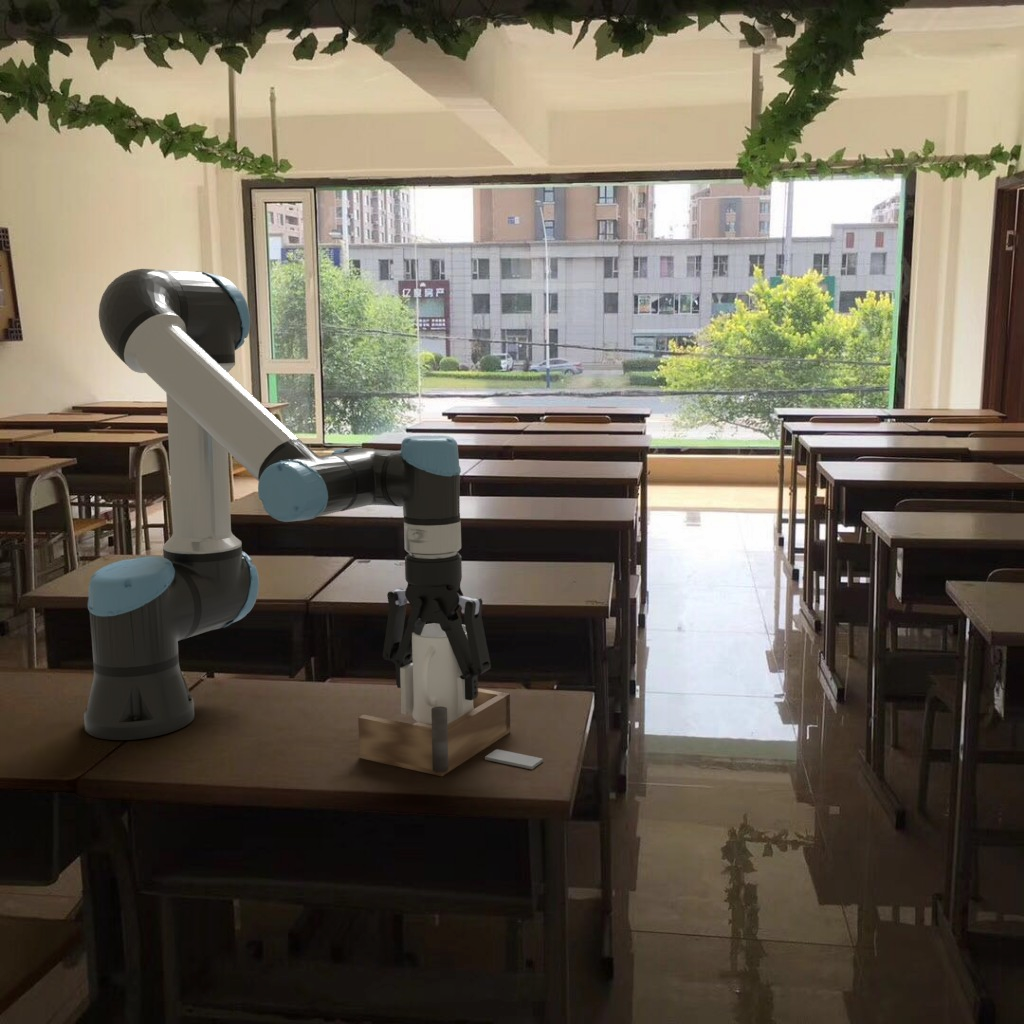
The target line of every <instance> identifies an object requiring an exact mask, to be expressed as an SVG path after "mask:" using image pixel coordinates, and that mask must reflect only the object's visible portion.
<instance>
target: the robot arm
mask: <svg viewBox="0 0 1024 1024" xmlns="http://www.w3.org/2000/svg"><path fill="white" fill-rule="evenodd" d="M98 306H99V307H98V321H99V327H100V331H101V332H102V336H103V338H104V339H105V341H106V344H108V346H109V347H110V349H111V350H112V351H113V353H114V354H115V355H116V356H117V357H118V358H119V360H120V361H121V362H123V363H124V364H125V366H127V367H128V368H129V369H130V370H131V371H133V372H135V373H138V374H147V376H148V377H149V378H151V379H152V381H153V382H155V383H156V384H157V385H158V386H159V387H160V388H161V390H163V391H164V393H166V411H167V412H166V413H167V436H168V438H167V439H168V454H169V455H168V457H169V477H170V479H169V480H170V497H171V498H170V499H171V501H170V502H171V519H172V521H171V522H172V523H171V524H172V534H171V536H170V538H169V539H168V540H167V541H166V542H165V543H164V544H162V545H163V546H162V556H152V555H150V556H140V557H139V556H138V557H135V558H132V559H130V558H126V559H123V560H118V561H115V562H112V563H109V564H107V565H105V566H103V567H101V568H99V569H98V570H97V571H95V572H94V573H92V574H93V575H92V576H91V577H90V579H89V581H88V582H89V583H88V599H87V609H88V612H89V613H88V614H89V622H90V634H91V647H92V649H91V650H92V660H93V662H92V665H93V679H92V683H91V684H92V685H91V687H90V690H89V692H90V693H89V697H88V702H87V706H86V708H85V711H84V713H83V720H84V731H85V732H86V733H87V734H88V735H90V736H92V737H94V738H97V739H102V740H110V741H111V740H112V741H132V740H133V741H134V740H142V739H149V738H155V737H158V736H159V737H160V736H163V735H166V734H169V733H173V732H176V731H178V730H180V729H182V728H184V727H186V726H188V725H190V723H192V721H193V720H194V719H195V715H196V714H195V701H194V698H193V696H192V695H191V694H190V689H189V688H188V685H187V682H186V679H185V677H184V675H183V673H182V670H181V668H180V662H179V661H180V660H179V643H178V642H179V641H181V640H182V641H183V640H186V639H188V638H190V637H191V638H192V637H194V636H198V635H200V634H203V633H207V632H210V631H215V630H219V629H223V628H226V627H229V626H230V625H232V624H234V623H236V622H238V621H240V620H242V619H244V618H245V617H246V616H247V614H249V613H250V612H251V611H252V609H253V608H254V606H255V604H256V601H257V599H258V595H259V589H260V581H259V580H260V577H259V573H258V570H257V567H256V565H254V564H252V562H253V560H252V558H251V557H250V556H249V555H248V554H247V553H246V552H245V551H243V548H242V547H243V546H242V540H240V539H239V538H238V537H236V536H235V534H233V532H232V525H231V524H232V523H231V522H232V521H231V519H232V518H231V517H232V516H231V499H230V498H231V495H230V494H231V491H230V490H231V489H230V471H229V470H230V466H229V465H230V464H229V455H231V456H232V457H233V458H234V460H236V461H237V462H238V463H239V464H240V465H241V466H242V467H243V468H244V469H245V470H246V471H247V472H248V473H250V475H251V476H253V477H254V479H255V480H257V481H258V484H257V490H258V491H257V492H258V493H257V494H258V498H259V500H261V504H262V505H263V506H262V507H263V509H264V511H265V513H266V514H268V516H270V517H271V518H273V519H275V520H277V521H280V522H283V523H288V522H289V523H290V522H296V521H297V522H300V521H309V520H313V519H315V518H317V517H321V516H326V515H329V514H330V515H331V514H333V513H339V512H345V511H349V510H354V509H359V508H362V507H367V506H387V507H388V506H391V507H402V513H403V515H402V516H403V535H404V536H403V537H404V538H403V539H404V551H406V552H407V553H408V554H406V556H405V557H404V575H405V576H404V577H405V581H406V582H407V587H406V588H405V589H404V588H402V587H398V588H396V589H394V590H390V591H388V592H387V594H386V595H387V602H388V614H387V623H386V628H385V634H384V635H385V636H384V643H383V651H382V658H383V660H385V661H389V662H390V661H391V662H392V663H393V664H394V665H395V677H396V678H395V683H396V686H397V687H396V688H398V689H400V706H401V707H400V711H401V713H400V714H402V715H408V714H410V713H413V707H414V693H413V661H412V633H413V632H414V633H415V634H417V635H421V632H422V630H423V627H424V625H426V623H427V622H431V623H438V624H440V627H441V629H442V630H443V631H445V633H446V635H447V638H448V640H449V643H450V645H451V648H452V650H453V653H454V655H455V657H456V660H457V662H458V665H459V667H460V670H461V672H462V675H461V676H459V677H457V692H458V718H459V717H461V716H463V715H464V714H466V713H468V712H470V711H471V710H473V699H475V698H477V696H478V686H479V678H478V676H481V675H482V674H484V673H486V672H487V671H489V670H490V669H491V668H492V664H491V658H490V653H489V649H488V644H487V639H486V638H487V637H486V632H485V628H484V622H483V617H482V610H483V602H484V601H483V599H482V598H481V597H478V596H477V597H475V598H472V597H468V596H464V593H463V591H462V588H461V582H462V577H463V574H462V572H463V568H462V567H463V566H462V562H463V561H462V555H461V554H460V553H459V551H460V550H461V549H462V525H461V521H462V520H461V513H460V512H461V511H460V509H461V508H460V507H461V506H460V505H461V503H460V501H461V500H460V498H461V497H460V496H461V495H460V487H461V485H460V483H461V482H460V479H461V476H460V475H461V473H462V472H461V466H460V459H459V458H460V457H459V446H458V443H457V441H456V440H455V439H454V438H453V437H451V436H448V435H413V436H407V437H405V438H403V440H402V441H401V447H400V449H399V450H392V449H391V450H389V449H374V448H363V447H357V446H356V447H348V448H345V447H344V448H339V449H336V450H334V451H333V452H332V453H331V454H326V455H318V454H316V452H314V450H312V449H311V448H310V447H309V446H308V445H306V443H304V442H303V441H302V440H301V439H300V438H299V437H298V436H297V435H295V434H294V433H293V432H292V431H291V430H290V429H289V428H288V427H287V426H286V425H284V424H283V422H281V421H280V420H279V419H278V418H277V417H276V416H275V415H274V414H273V413H272V412H271V411H270V410H269V409H268V408H267V407H265V406H264V405H263V404H262V403H261V402H260V401H259V400H258V399H257V398H256V397H255V396H254V395H253V394H252V393H250V391H248V390H247V388H245V387H244V386H243V385H242V384H241V383H240V382H239V381H238V380H237V379H236V378H235V377H233V376H232V375H231V374H230V373H229V372H230V371H231V370H232V369H233V368H234V367H235V366H236V351H237V350H238V349H239V348H241V346H243V345H244V343H245V339H246V338H248V336H249V334H250V329H251V314H250V309H249V305H248V303H247V300H246V298H245V297H244V295H243V293H242V291H241V290H240V289H239V288H237V286H236V284H235V283H233V282H232V281H231V280H230V279H228V278H226V277H224V276H222V275H219V274H214V273H208V272H205V271H198V270H196V271H183V270H181V271H180V270H164V269H163V270H161V269H152V268H137V269H132V270H129V271H127V272H123V273H122V274H120V275H118V277H115V279H113V281H111V283H110V284H109V285H107V286H106V289H104V291H103V294H102V296H101V298H100V302H99V305H98ZM407 604H409V605H410V607H411V611H410V612H409V616H408V619H407V626H406V628H405V627H404V626H405V621H406V614H407ZM460 607H461V614H463V619H462V617H461V615H460V612H459V608H460ZM450 620H451V621H450ZM463 620H464V625H465V628H466V633H467V637H466V634H465V632H464V629H463V627H462V625H463V624H462V623H463ZM404 628H405V630H404ZM467 638H468V639H467ZM411 661H412V662H411Z"/></svg>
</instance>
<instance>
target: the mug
mask: <svg viewBox="0 0 1024 1024" xmlns="http://www.w3.org/2000/svg"><path fill="white" fill-rule="evenodd" d="M462 627H463V629H464V632H465V634H466V637H467V633H466V628H465V624H462ZM467 639H468V638H467ZM411 659H412V663H413V693H414V707H413V711H412V712H411V713H412V714H411V715H412V718H413V719H414V720H415V721H416V722H421V723H424V724H429V725H432V716H431V709H432V708H434V707H439V706H441V707H446V708H447V723H448V724H449V723H451V722H452V721H454V720H456V719H458V692H457V677H459V676H461V675H462V672H461V670H460V667H459V665H458V662H457V660H456V657H455V655H454V653H453V650H452V648H451V645H450V643H449V640H448V638H447V635H446V633H445V631H443V630H442V629H441V627H440V624H438V623H434V622H431V623H427V624H426V623H425V625H424V627H423V630H422V632H421V635H417V634H415V633H414V632H413V633H412V658H411ZM473 709H474V707H473Z"/></svg>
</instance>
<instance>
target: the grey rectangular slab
mask: <svg viewBox="0 0 1024 1024" xmlns="http://www.w3.org/2000/svg"><path fill="white" fill-rule="evenodd" d="M484 760H485V761H490V762H494V763H495V762H496V763H500V764H504V765H508V766H513V767H519V768H523V769H528V770H533V769H535V768H536V767H537V766H539V765H540V764H542V763H543V762H544V759H543V758H541V757H537V756H532V755H528V754H522V753H518V752H514V751H513V752H512V751H507V750H503V749H498V748H497V749H495V750H493V751H492V752H490V753H488V754H487V755H486V756H484Z"/></svg>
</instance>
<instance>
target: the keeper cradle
mask: <svg viewBox="0 0 1024 1024" xmlns="http://www.w3.org/2000/svg"><path fill="white" fill-rule="evenodd" d="M473 707H474V709H473V710H471V711H470V712H468V713H466V714H464V715H463V716H461V717H459V718H458V719H456V720H454V721H452V722H451V723H449V724H448V723H447V708H446V707H441V706H439V707H434V708H432V709H431V716H432V725H429V724H424V723H421V722H418V721H416V722H415V723H408V722H403V721H398V720H394V719H393V720H392V719H389V718H384V717H377V716H373V715H368V714H362V715H360V716H359V717H358V718H357V720H358V723H357V724H358V748H359V750H358V751H359V754H358V755H359V758H360V759H363V760H368V761H371V762H376V763H381V764H386V765H390V766H393V767H399V768H402V769H407V770H412V771H417V772H421V773H425V774H428V775H429V774H430V775H434V776H439V777H443V776H445V775H446V774H448V773H450V772H451V771H453V770H454V769H456V768H457V767H459V766H461V765H462V764H464V763H465V762H467V761H468V760H469V759H471V758H473V757H474V756H476V755H477V754H478V753H481V752H482V751H483V750H485V749H487V748H488V747H490V746H491V745H493V744H494V743H495V742H497V741H499V740H500V739H502V738H503V737H505V736H507V735H508V734H510V733H511V693H507V692H501V691H495V690H491V689H484V688H478V696H477V698H475V699H473Z"/></svg>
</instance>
